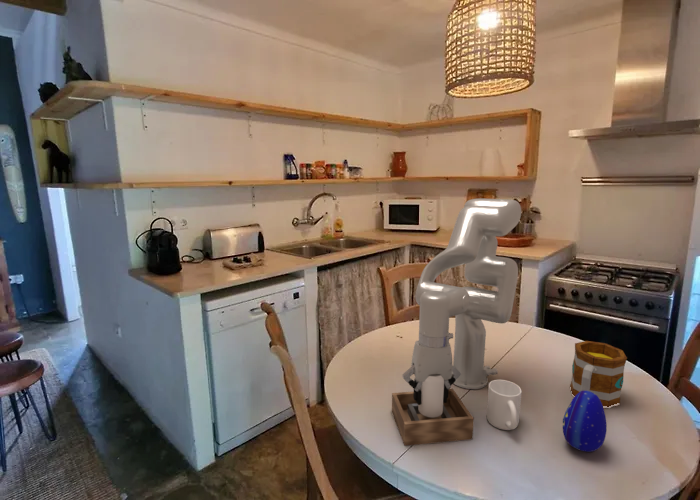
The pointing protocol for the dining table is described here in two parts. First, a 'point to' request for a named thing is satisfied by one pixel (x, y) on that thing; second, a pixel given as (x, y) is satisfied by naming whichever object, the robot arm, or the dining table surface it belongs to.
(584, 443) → the ornament
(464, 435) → the bin
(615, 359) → the mug
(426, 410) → the can
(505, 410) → the mug
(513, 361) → the dining table surface
